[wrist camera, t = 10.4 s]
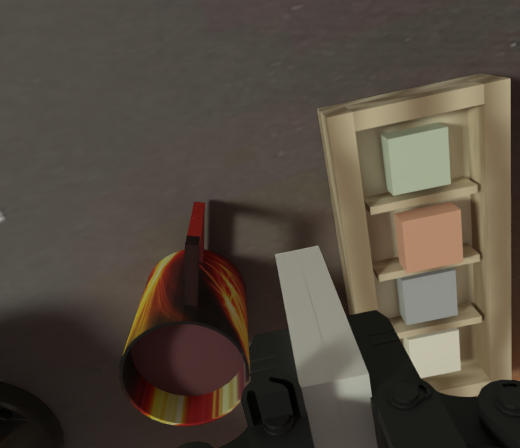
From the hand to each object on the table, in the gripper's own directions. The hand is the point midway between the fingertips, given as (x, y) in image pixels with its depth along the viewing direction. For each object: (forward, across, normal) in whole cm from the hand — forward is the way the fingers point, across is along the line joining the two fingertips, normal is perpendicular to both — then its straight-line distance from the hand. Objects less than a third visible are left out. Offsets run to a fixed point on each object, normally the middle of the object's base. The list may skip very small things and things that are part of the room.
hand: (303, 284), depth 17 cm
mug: (+27, -10, -12) cm, 31 cm away
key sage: (+25, +12, -4) cm, 28 cm away
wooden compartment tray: (+26, +12, -14) cm, 32 cm away
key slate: (+25, +12, -17) cm, 32 cm away
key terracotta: (+23, +12, -11) cm, 28 cm away
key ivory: (+25, +12, -24) cm, 36 cm away
